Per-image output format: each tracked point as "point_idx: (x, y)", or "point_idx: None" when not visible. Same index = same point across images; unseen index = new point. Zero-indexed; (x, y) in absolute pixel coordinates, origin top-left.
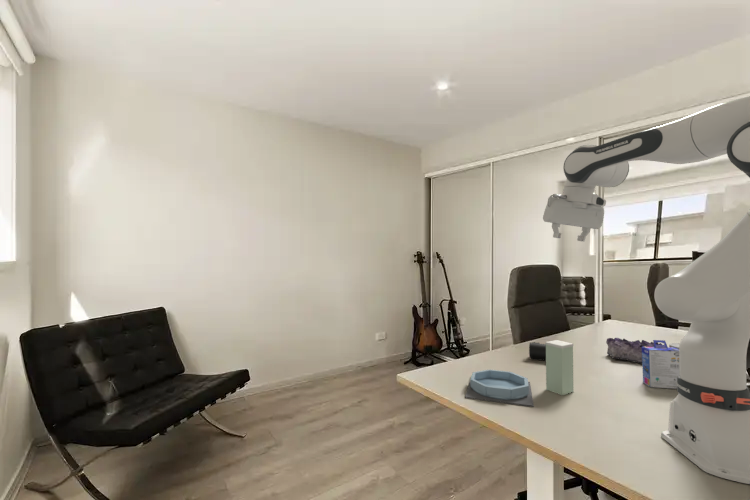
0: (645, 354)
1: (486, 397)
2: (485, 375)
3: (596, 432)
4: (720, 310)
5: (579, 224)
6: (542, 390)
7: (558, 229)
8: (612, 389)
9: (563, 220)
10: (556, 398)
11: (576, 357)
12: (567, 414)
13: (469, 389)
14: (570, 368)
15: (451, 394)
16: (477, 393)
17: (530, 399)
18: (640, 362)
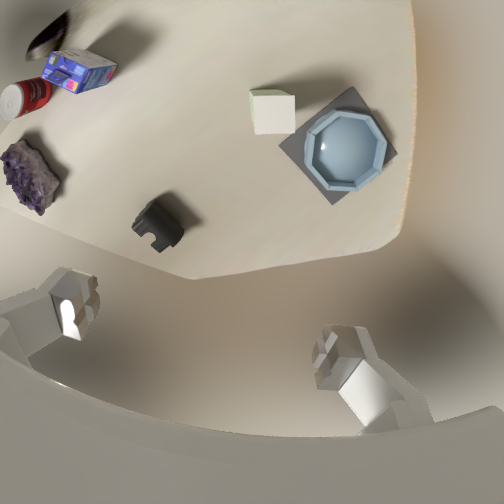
0: (89, 78)
1: None
2: (336, 183)
3: (346, 12)
4: None
5: (101, 424)
6: None
7: (389, 381)
8: (179, 74)
9: (424, 463)
10: (297, 86)
11: (101, 209)
12: (332, 50)
13: None
14: (260, 92)
15: (399, 170)
16: None
17: (338, 100)
18: (40, 154)
